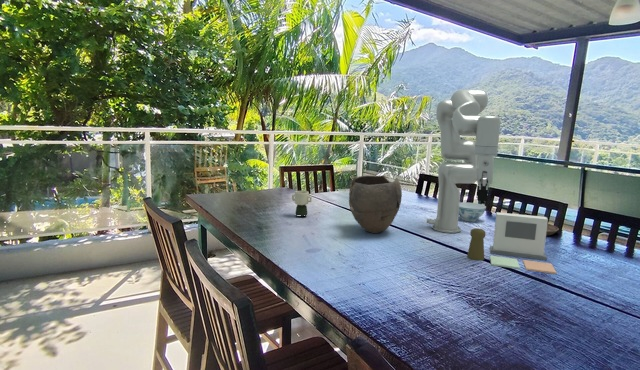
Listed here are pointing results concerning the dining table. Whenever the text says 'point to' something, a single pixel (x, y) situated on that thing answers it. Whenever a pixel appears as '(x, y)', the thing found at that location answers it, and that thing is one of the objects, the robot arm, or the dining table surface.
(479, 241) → the olive pepper shaker
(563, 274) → the dining table surface
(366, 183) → the clay pot
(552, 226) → the plant saucer
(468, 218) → the chinaware
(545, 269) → the terracotta pad
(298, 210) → the trophy cup
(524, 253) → the white display panel
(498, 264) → the sage pad
